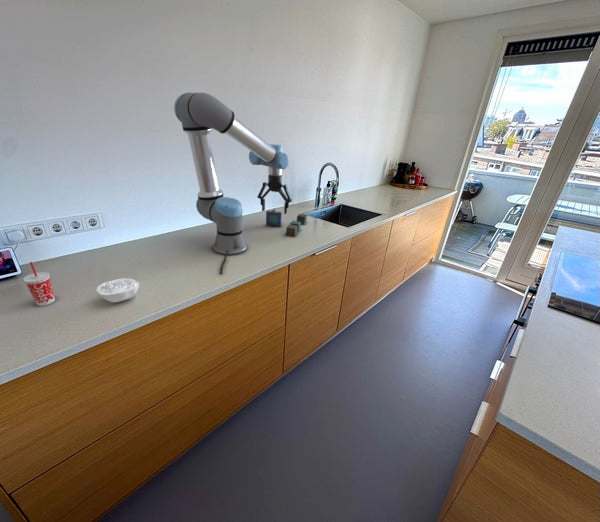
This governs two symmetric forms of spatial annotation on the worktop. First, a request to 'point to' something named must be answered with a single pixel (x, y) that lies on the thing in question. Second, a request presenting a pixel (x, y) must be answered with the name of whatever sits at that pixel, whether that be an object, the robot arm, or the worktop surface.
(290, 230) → the block
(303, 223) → the block
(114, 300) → the cell model
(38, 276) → the beverage cup
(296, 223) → the block
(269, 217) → the flask
